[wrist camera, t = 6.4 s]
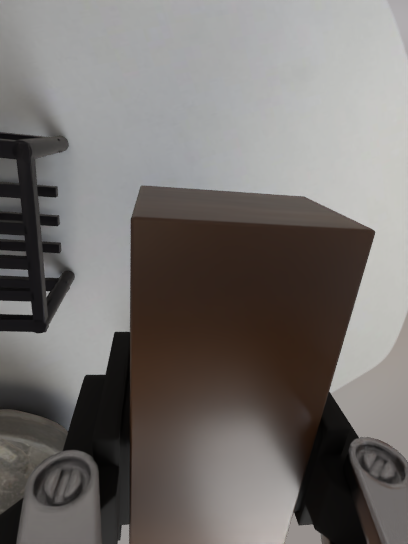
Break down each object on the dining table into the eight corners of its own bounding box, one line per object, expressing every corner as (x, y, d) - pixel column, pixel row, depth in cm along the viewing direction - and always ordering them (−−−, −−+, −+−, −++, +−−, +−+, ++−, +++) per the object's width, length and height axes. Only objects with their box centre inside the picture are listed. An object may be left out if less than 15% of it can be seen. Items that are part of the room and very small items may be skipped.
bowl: (128, 427, 41) (122, 492, 34) (39, 506, 45) (16, 580, 37) (-8, 348, 35) (-53, 407, 27) (-100, 447, 38) (-161, 523, 31)
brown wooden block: (142, 178, 9) (130, 217, 5) (291, 189, 9) (377, 230, 6) (136, 492, 13) (128, 632, 10) (236, 486, 14) (264, 615, 10)
